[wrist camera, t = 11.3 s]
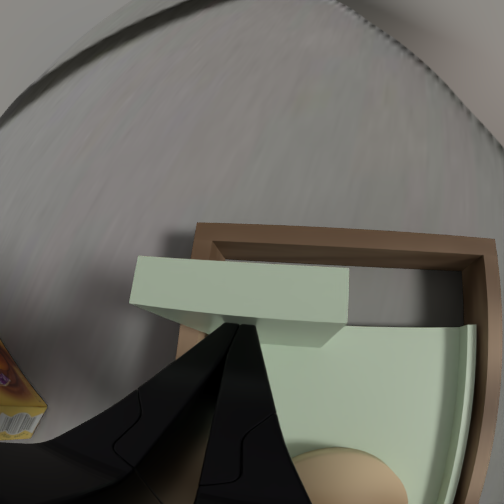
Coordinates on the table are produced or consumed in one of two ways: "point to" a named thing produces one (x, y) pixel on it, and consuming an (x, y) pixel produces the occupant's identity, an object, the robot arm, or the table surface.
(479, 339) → the brown wooden frame
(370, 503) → the tan round disc
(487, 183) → the table surface
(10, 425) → the candy box
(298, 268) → the tray
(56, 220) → the table surface
